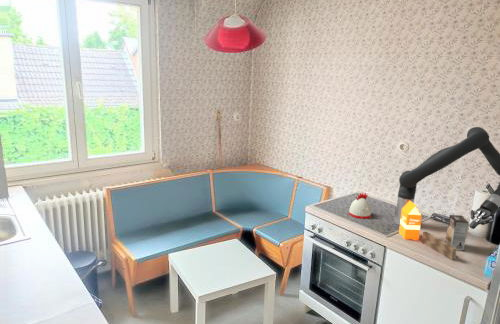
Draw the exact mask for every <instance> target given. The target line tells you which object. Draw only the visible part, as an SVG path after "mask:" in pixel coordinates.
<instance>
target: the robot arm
mask: <svg viewBox="0 0 500 324" xmlns="http://www.w3.org/2000/svg"><path fill="white" fill-rule="evenodd" d="M476 150H479V151H480V152H481V153H482V155H483V156H484V157H485V159H486V160H487V162H488V163H489V165H490V166H491V168H492V169H493V170H494V171H495V173H496V174H497V175H498V176H499V177H500V152H499V150H498V149H497V148H496V147H495V146H494V145H493V143H492V142H491V140H490V135H489V133H488V132H487V131H486V129H484V128H483V127H480V126H475V127H472V128H470V129H468V131H467V133H466V138H464V139H462V140H461V141H460V142H458V143H457V144H454V145H451V146H447V147H444V148H441V149H440V150H439V151H437V152H435V153H433V154H432V155H430V156H429V157H428V158H426V159H425V160H424V161H423V162H422V163H420V165H418V166H417V167H415V168H414V169H411V170H405V171H403V172H402V173H401V175H400V176H399V178H398V179H399V180H398V182H399V188H398V191H397V199H396V201H397V202H396V206H395V207H394V208H395V209H394V215H393V217H394V218H393V222H394V223H395V225H398V226H400V220H401V212H402V208H403V207H404V206H405V205H406V204H407V203H408V202H409V201H411V202H412V203H414V204H415V197H416V190H417V186H418V185H417V184H419V182H421V181H422V180H424V179H425V178H427V177H429V176H431V175H433V174H435V173H437V172H439V171H440V170H442V169H444V168H446V167H448V166H450V165H451V164H453V163H454V162H457V161H458V160H459V159H460V158H463V157H464V156H465V155H468V154H470V153H471V152H474V151H476ZM499 207H500V182H499V183H498V185H497V187H496V189H495V190H494V191H493V192H492V193H491V194H490V195H489V196H487V198H485V200H484V201H483V202H482V204H480V206H479V208H477V209H475V210H474V209H471V210H470V219H471V222H470V224H469V223H468V228H470V229H472V230H474V229H476V228H477V227H478V226H479V225H481V226H484V225H488V224H492V223H493V222H494V221H495V220H494V219H493V216H494V215H496V213H498V211H499V210H500V209H499Z"/></svg>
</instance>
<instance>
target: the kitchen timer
mask: <svg viewBox="0 0 500 324" xmlns="http://www.w3.org/2000/svg"><path fill="white" fill-rule="evenodd" d="M368 196H369V194H366V192H362V193H361V192H360V193H359V194H357V196H355V199H354V200H353V201H352V202H351V204H350V207H349V209H348V215H349V216H350V215H351V217H352V218H356V219H362V220H364V219H365V220H366V219H370V218H371V217H372V208H371V206H370V205H371V204H370V203H369V201H368V200H367V197H368Z"/></svg>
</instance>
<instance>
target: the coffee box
mask: <svg viewBox="0 0 500 324" xmlns="http://www.w3.org/2000/svg"><path fill="white" fill-rule="evenodd" d="M468 228H469V221H468V220H467V219H466V218H465V217H464V216H463V215H457V214H456V215H455V214H449V218H448V224H447V229H446V230H447V231H446V237H445V242H446V243H447V244H449V245H451V246H453V247H455V248H456V251H458V250H459V251H464V249H465V243H466V237H467V232H468Z"/></svg>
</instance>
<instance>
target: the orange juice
mask: <svg viewBox="0 0 500 324" xmlns="http://www.w3.org/2000/svg"><path fill="white" fill-rule="evenodd" d="M421 222H422V214H421V211H419V209H418V207H417V205H416V204H415V202H414V203H412V202H411V201H409V202H408V203H407V204H406V205H405V206H404V207H403V208H402V212H401V220H400V225H399V229H398V233H399V234H400V235H402V236H403V237H402V236H401V237H402V238H403V239H404V240H409V239H413V240H415V241H419V237H420V230H421Z"/></svg>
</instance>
